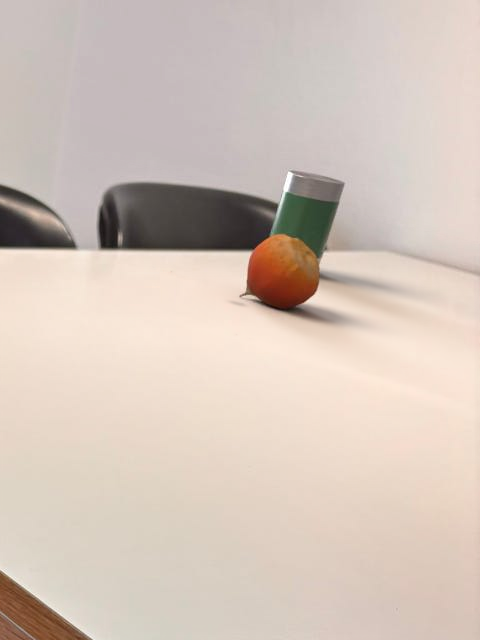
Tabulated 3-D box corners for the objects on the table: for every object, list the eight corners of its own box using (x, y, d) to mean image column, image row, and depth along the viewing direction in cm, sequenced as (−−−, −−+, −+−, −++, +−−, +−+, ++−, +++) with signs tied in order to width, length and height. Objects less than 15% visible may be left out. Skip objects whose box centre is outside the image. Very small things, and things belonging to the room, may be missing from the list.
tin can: (318, 270, 140) (346, 181, 134) (314, 279, 134) (344, 186, 128) (265, 257, 141) (290, 168, 135) (259, 265, 135) (285, 172, 129)
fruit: (242, 272, 121) (295, 218, 116) (287, 325, 120) (342, 273, 115) (215, 279, 115) (269, 222, 110) (261, 335, 114) (318, 280, 109)
